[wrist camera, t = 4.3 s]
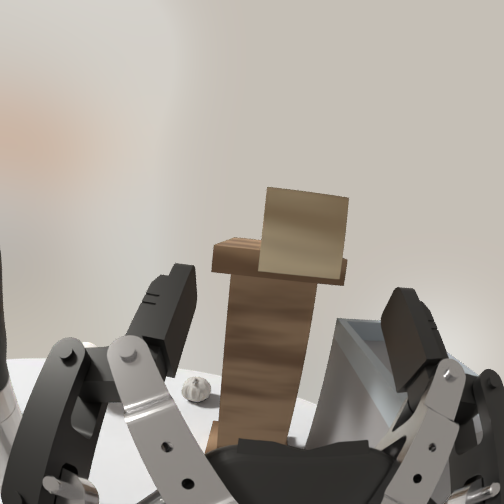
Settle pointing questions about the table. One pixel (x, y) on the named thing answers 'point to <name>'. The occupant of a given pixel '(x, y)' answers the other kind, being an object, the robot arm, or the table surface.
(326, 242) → the tan wooden bar
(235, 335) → the post
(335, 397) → the tray stand
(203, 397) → the garlic
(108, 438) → the table surface
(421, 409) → the robot arm
